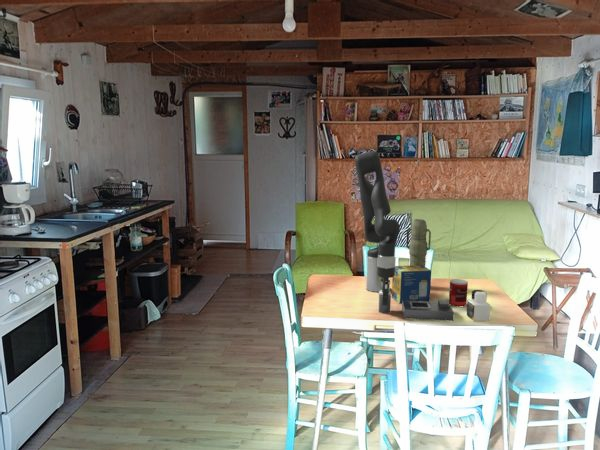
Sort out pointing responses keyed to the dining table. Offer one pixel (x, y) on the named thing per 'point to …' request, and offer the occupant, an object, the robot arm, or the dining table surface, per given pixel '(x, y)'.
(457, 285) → the canned food
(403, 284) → the protein box
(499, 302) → the dining table surface
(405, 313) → the grey panel
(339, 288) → the dining table surface
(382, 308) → the grey rounded cylinder
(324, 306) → the dining table surface
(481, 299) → the medicine bottle
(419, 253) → the thermos
